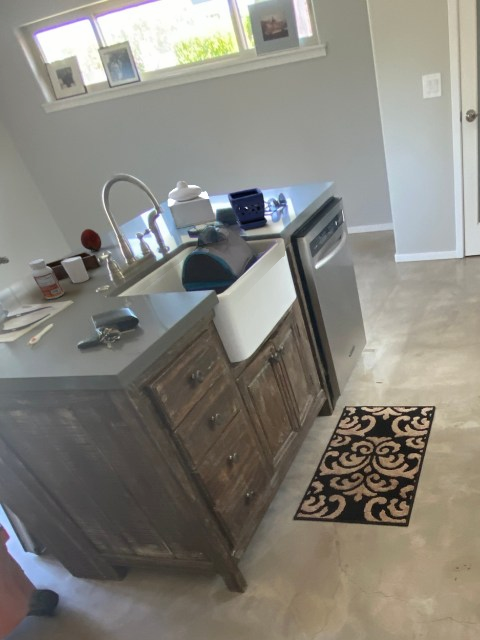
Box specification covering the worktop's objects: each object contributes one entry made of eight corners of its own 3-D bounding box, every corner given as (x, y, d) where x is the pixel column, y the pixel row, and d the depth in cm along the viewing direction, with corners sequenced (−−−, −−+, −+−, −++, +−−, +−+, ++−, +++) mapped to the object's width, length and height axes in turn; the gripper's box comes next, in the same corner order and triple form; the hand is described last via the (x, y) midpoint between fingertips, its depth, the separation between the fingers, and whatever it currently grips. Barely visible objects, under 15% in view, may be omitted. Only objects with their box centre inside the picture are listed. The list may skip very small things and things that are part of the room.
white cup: (85, 282, 182) (75, 261, 177) (67, 284, 182) (56, 263, 178) (94, 275, 187) (84, 255, 182) (76, 277, 187) (66, 257, 183)
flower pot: (271, 225, 211) (263, 192, 203) (239, 232, 208) (230, 199, 200) (265, 219, 220) (258, 187, 212) (235, 225, 218) (226, 193, 210)
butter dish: (213, 212, 242) (200, 173, 232) (215, 220, 229) (203, 179, 219) (175, 220, 240) (161, 180, 229) (176, 229, 227) (161, 187, 216)
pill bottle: (50, 293, 176) (32, 259, 169) (67, 291, 176) (49, 257, 168) (42, 300, 172) (22, 265, 164) (59, 298, 171) (40, 263, 164)
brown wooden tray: (52, 281, 187) (46, 270, 185) (44, 277, 193) (38, 266, 190) (100, 266, 196) (94, 254, 193) (91, 262, 201) (86, 251, 198)
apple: (108, 248, 215) (99, 227, 210) (92, 254, 211) (82, 232, 206) (98, 247, 219) (89, 226, 213) (82, 252, 214) (72, 231, 209)
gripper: (-66, 271, 158) (-23, 264, 157) (-31, 250, 173) (9, 244, 172) (-52, 292, 162) (-10, 285, 161) (-19, 270, 177) (20, 264, 176)
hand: (0, 264), depth 167 cm, fingers open, 8 cm apart
